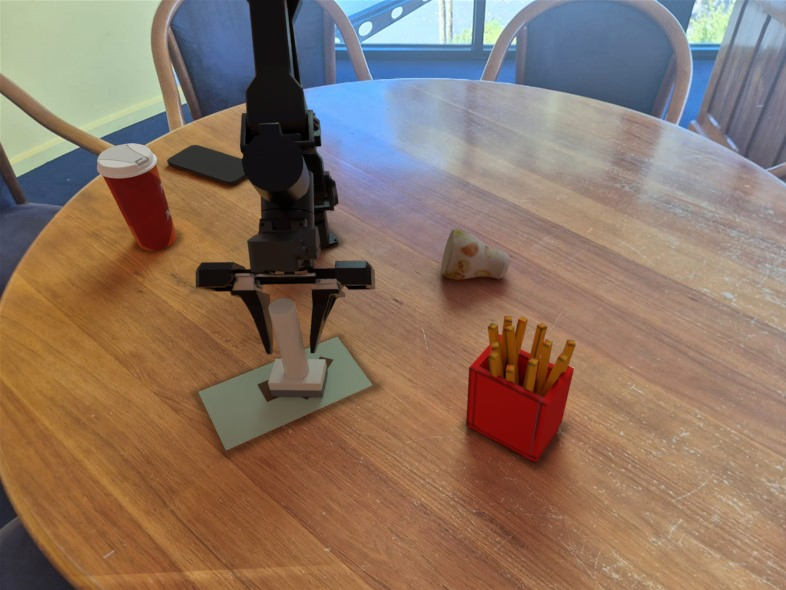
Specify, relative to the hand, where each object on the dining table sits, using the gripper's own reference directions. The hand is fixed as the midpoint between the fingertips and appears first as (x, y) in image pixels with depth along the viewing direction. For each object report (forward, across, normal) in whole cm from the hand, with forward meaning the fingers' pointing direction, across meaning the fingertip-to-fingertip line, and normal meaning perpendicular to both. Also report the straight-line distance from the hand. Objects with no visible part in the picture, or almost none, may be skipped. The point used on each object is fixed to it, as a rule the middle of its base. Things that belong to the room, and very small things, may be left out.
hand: (291, 353), depth 70 cm
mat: (+4, -2, +5) cm, 7 cm away
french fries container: (+9, +25, +1) cm, 27 cm away
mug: (-11, +22, +21) cm, 33 cm away
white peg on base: (+4, 0, +5) cm, 6 cm away
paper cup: (-18, -26, +27) cm, 41 cm away
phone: (-33, -22, +43) cm, 58 cm away
